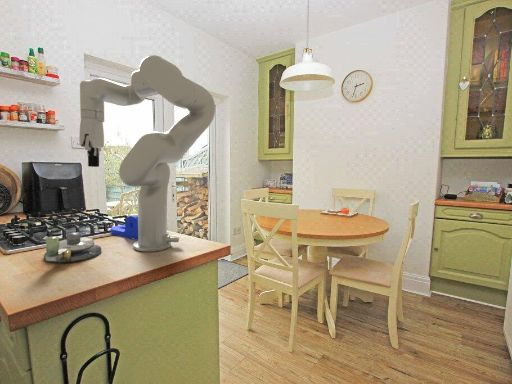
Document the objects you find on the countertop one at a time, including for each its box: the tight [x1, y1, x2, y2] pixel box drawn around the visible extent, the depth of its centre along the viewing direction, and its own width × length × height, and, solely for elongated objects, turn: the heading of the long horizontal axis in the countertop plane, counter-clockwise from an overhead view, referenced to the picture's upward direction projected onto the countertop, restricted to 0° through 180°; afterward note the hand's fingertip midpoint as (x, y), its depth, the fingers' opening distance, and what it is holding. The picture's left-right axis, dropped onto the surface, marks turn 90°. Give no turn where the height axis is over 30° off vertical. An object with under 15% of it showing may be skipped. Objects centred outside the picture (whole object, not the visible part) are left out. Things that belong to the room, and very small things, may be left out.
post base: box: [43, 244, 102, 264], centre depth 85 cm, size 15×16×4 cm
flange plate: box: [45, 231, 95, 262], centre depth 81 cm, size 18×11×6 cm, turn 8°
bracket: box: [110, 214, 138, 241], centre depth 110 cm, size 18×8×9 cm, turn 65°
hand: (93, 166), depth 102 cm, fingers closed
